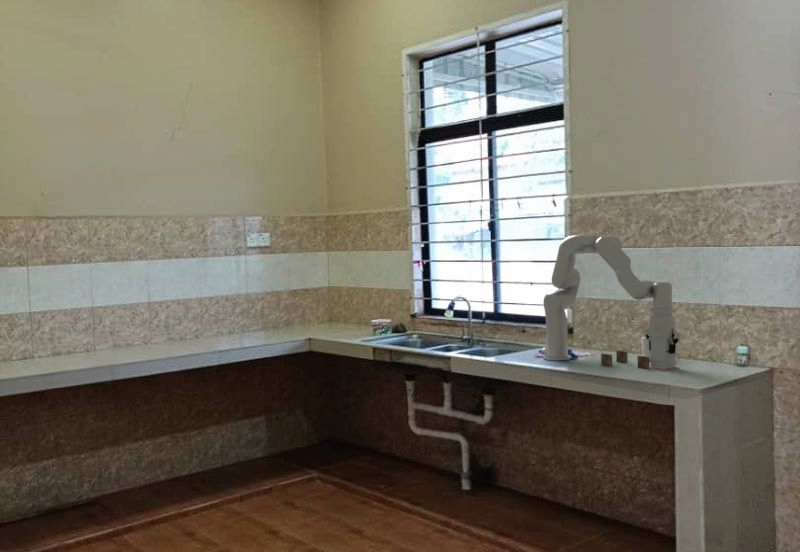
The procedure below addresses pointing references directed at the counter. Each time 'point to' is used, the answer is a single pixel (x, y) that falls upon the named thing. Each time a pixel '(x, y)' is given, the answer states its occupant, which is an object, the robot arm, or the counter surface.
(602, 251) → the robot arm
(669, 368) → the mat
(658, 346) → the supplement box
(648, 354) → the white cup
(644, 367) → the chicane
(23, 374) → the counter surface
